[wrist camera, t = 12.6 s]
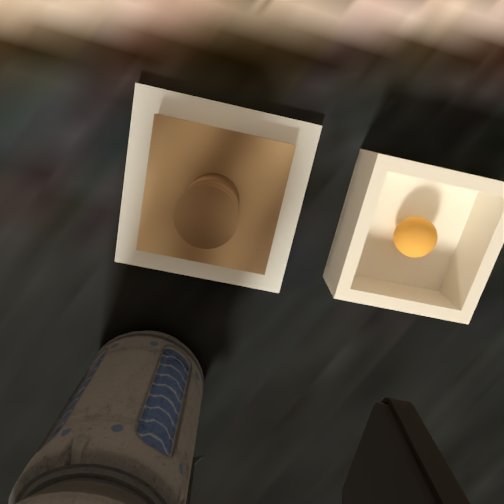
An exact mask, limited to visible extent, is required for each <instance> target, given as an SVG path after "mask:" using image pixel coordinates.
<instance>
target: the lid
mask: <svg viewBox="0 0 504 504" xmlns="http://www.w3.org/2000/svg"><path fill="white" fill-rule="evenodd" d="M295 148H296V145H294V144H290V143H285V142H281V141H276V140H272V139H268V138H263V137H259V136H254V135H250V134H245V133H241V132H237V131H232V130H228V129H223V128H219V127H214V126H210V125H206V124H201V123H197V122H192V121H188V120H183V119H179V118H175V117H170V116H166V115H161V114H154V120H153V127H152V135H151V142H150V150H149V157H148V165H147V172H146V179H145V187H144V194H143V202H142V209H141V217H140V224H139V232H138V239H137V247H136V250H139V251H144V252H150V253H155V254H160V255H165V256H170V257H175V258H180V259H185V260H190V261H195V262H201V263H206V264H211V265H216V266H221V267H226V268H231V269H236V270H241V271H246V272H252V273H257V274H262V275H265V271H266V267H267V263H268V259H269V255H270V251H271V247H272V243H273V239H274V234H275V230H276V226H277V222H278V218H279V214H280V210H281V206H282V202H283V198H284V193H285V189H286V185H287V181H288V177H289V173H290V169H291V165H292V161H293V156H294V152H295Z"/></svg>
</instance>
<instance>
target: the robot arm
mask: <svg viewBox="0 0 504 504" xmlns="http://www.w3.org/2000/svg"><path fill="white" fill-rule="evenodd" d="M342 504H470V503H469V501H468V499H467V497H466V496H465V494H464V492H463V490H462V489H461V487H460V485H459V484H458V482H457V480H456V478H455V477H454V475H453V473H452V472H451V470H450V468H449V466H448V465H447V463H446V461H445V459H444V458H443V456H442V454H441V453H440V451H439V449H438V447H437V446H436V444H435V442H434V440H433V439H432V437H431V435H430V434H429V432H428V430H427V428H426V427H425V425H424V423H423V421H422V420H421V418H420V416H419V415H418V413H417V411H416V409H415V408H414V406H413V405H412V403H410V402H408V401H403V400H397V399H392V398H384V399H383V400H382V402H381V403H379V402H378V403H376V404H375V405H374V407H373V409H372V412H371V414H370V417H369V420H368V422H367V425H366V428H365V430H364V433H363V436H362V438H361V441H360V444H359V446H358V449H357V452H356V454H355V457H354V460H353V462H352V465H351V468H350V470H349V473H348V476H347V478H346V481H345V484H344V486H343V491H342Z"/></svg>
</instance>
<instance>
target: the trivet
mask: <svg viewBox="0 0 504 504" xmlns="http://www.w3.org/2000/svg"><path fill="white" fill-rule="evenodd" d="M154 114H161V115H166V116H170V117H175V118H179V119H183V120H188V121H192V122H197V123H201V124H206V125H210V126H214V127H219V128H223V129H228V130H232V131H237V132H241V133H245V134H250V135H254V136H259V137H263V138H268V139H272V140H276V141H281V142H285V143H290V144H294V145H296V148H295V152H294V156H293V161H292V165H291V169H290V173H289V177H288V181H287V185H286V189H285V193H284V198H283V202H282V206H281V210H280V214H279V218H278V222H277V226H276V230H275V234H274V239H273V243H272V247H271V251H270V255H269V259H268V263H267V267H266V271H265V275H262V274H257V273H252V272H246V271H241V270H236V269H231V268H226V267H221V266H216V265H211V264H206V263H201V262H195V261H190V260H185V259H180V258H175V257H170V256H165V255H160V254H155V253H150V252H144V251H139V250H136V247H137V239H138V232H139V224H140V217H141V209H142V202H143V194H144V187H145V179H146V172H147V165H148V157H149V150H150V142H151V135H152V127H153V120H154ZM321 129H322V126H321V125H317V124H312V123H308V122H304V121H300V120H295V119H291V118H287V117H282V116H278V115H274V114H269V113H265V112H261V111H256V110H252V109H248V108H243V107H239V106H235V105H230V104H226V103H222V102H217V101H213V100H209V99H204V98H200V97H196V96H191V95H187V94H183V93H178V92H174V91H170V90H165V89H161V88H157V87H152V86H148V85H144V84H139V83H135V91H134V99H133V108H132V117H131V125H130V134H129V142H128V151H127V159H126V168H125V177H124V185H123V194H122V202H121V211H120V219H119V228H118V236H117V245H116V254H115V262H119V263H124V264H130V265H135V266H140V267H145V268H150V269H156V270H161V271H166V272H171V273H176V274H182V275H187V276H192V277H197V278H202V279H208V280H213V281H218V282H223V283H228V284H234V285H239V286H244V287H249V288H254V289H260V290H265V291H270V292H275V293H279V291H280V287H281V284H282V280H283V276H284V272H285V268H286V264H287V260H288V257H289V253H290V249H291V245H292V241H293V237H294V233H295V230H296V226H297V222H298V218H299V214H300V210H301V206H302V203H303V199H304V195H305V191H306V187H307V183H308V179H309V176H310V172H311V168H312V164H313V160H314V156H315V152H316V149H317V145H318V141H319V137H320V133H321Z"/></svg>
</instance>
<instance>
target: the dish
mask: <svg viewBox="0 0 504 504" xmlns="http://www.w3.org/2000/svg"><path fill="white" fill-rule="evenodd" d="M409 217H422V218H425V219H427V220H429V221H430V222H431V223H432V224H433V225H434V226H435V228H436V230H437V235H438V238H437V243H436V245H435V247H434V249H433V250H432V251H431V252H430V253H428V254H427V255H425V256H422V257H408V256H406V255H404V254H402V253H401V252H400V251H399V250H398V249H397V248H396V246H395V244H394V240H393V235H394V231H395V228H396V227H397V225H398V224H399V223H400V222H401V221H403V220H404V219H406V218H409ZM503 243H504V181H499V180H495V179H491V178H487V177H482V176H478V175H474V174H469V173H465V172H460V171H456V170H452V169H447V168H443V167H439V166H434V165H430V164H425V163H421V162H417V161H412V160H408V159H403V158H399V157H395V156H390V155H386V154H381V153H377V152H373V151H368V150H364V149H360V151H359V154H358V157H357V161H356V164H355V168H354V171H353V175H352V178H351V181H350V185H349V188H348V192H347V195H346V198H345V202H344V205H343V209H342V212H341V216H340V219H339V222H338V226H337V229H336V233H335V236H334V240H333V243H332V246H331V250H330V253H329V257H328V260H327V263H326V267H325V270H324V274H323V278H324V280H325V282H326V284H327V286H328V288H329V290H330V292H331V294H332V296H333V298H335V299H340V300H345V301H350V302H355V303H360V304H366V305H371V306H376V307H381V308H386V309H391V310H397V311H402V312H407V313H412V314H417V315H422V316H428V317H433V318H438V319H443V320H448V321H453V322H459V323H464V324H469V322H470V319H471V317H472V315H473V313H474V310H475V308H476V306H477V303H478V301H479V299H480V296H481V294H482V292H483V289H484V287H485V285H486V282H487V280H488V278H489V275H490V273H491V271H492V268H493V266H494V264H495V262H496V259H497V257H498V255H499V252H500V250H501V248H502V245H503Z"/></svg>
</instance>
